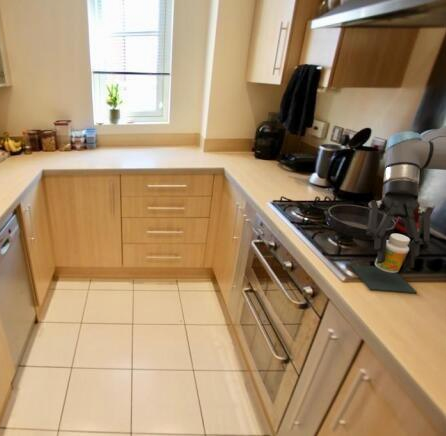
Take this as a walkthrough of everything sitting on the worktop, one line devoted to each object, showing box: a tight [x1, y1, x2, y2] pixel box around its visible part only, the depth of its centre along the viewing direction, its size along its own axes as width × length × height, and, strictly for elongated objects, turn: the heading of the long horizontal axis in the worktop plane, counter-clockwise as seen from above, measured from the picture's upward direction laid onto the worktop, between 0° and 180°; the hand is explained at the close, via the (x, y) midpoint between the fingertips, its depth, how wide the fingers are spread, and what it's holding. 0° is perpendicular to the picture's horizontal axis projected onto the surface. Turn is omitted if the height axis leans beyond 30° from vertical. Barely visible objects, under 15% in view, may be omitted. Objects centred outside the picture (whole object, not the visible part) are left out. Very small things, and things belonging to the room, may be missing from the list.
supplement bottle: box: [374, 233, 410, 273], centre depth 85 cm, size 5×5×10 cm
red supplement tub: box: [395, 197, 436, 235], centre depth 110 cm, size 8×8×11 cm
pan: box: [324, 204, 396, 241], centre depth 115 cm, size 20×20×4 cm
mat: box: [350, 264, 417, 295], centre depth 89 cm, size 11×11×1 cm
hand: (395, 264), depth 82 cm, fingers closed on supplement bottle, 5 cm apart
